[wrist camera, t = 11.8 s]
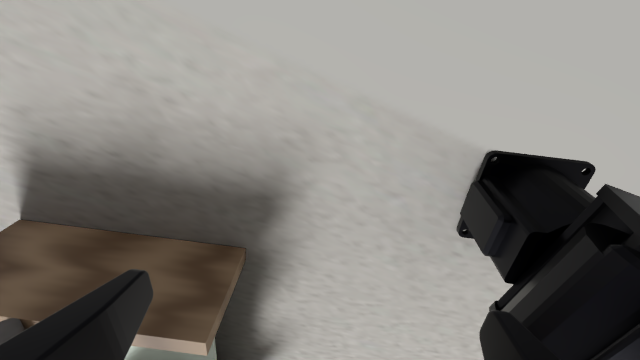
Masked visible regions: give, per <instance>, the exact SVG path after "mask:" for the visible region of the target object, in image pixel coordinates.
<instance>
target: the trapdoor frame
mask: <svg viewBox="0 0 640 360" xmlns="http://www.w3.org/2000/svg"><path fill="white" fill-rule="evenodd" d="M245 260H246V248H239V247H231V246H223V245H215V244H207V243H199V242H191V241H184V240H176V239H168V238H160V237H152V236H144V235H136V234H129V233H121V232H113V231H105V230H97V229H89V228H82V227H74V226H66V225H58V224H50V223H42V222H34V221H27V220H18V221H17V222H15V223H14V224H12V225H11V226H9V227H7V228H6V229H4V230H3V231H1V232H0V344H2V343H4V342H6V341H7V340H9V339H11V338H12V337H14V336H16V335H18V334H19V333H21V332H23V331H24V330H26V329H28V328H30V327H31V326H33V325H35V324H36V323H38V322H40V321H42V320H43V319H45V318H47V317H48V316H50V315H52V314H54V313H55V312H57V311H59V310H60V309H62V308H64V307H66V306H67V305H69V304H71V303H73V302H74V301H76V300H78V299H79V298H81V297H83V296H85V295H86V294H88V293H90V292H91V291H93V290H95V289H97V288H98V287H100V286H102V285H103V284H105V283H107V282H109V281H110V280H112V279H114V278H115V277H117V276H119V275H121V274H122V273H124V272H126V271H128V270H130V269H139V270H146V271H147V272H148V274H149V277H150V281H151V284H152V288H153V299H152V302H151V304H150V306H149V308H148V310H147V312H146V315H145V317H144V319H143V321H142V323H141V325H140V328H139V330H138V332H137V334H136V336H135V338H134V341H133V343H132V345H131V346H136V347H144V348H151V349H159V350H166V351H174V352H181V353H189V354H196V355H204V356H207V355H208V353H209V350H210V348H211V345H212V343H213V340H214V338H215V335H216V333H217V330H218V328H219V325H220V323H221V320H222V318H223V315H224V313H225V310H226V308H227V305H228V303H229V300H230V298H231V295H232V293H233V290H234V288H235V285H236V283H237V280H238V278H239V275H240V273H241V270H242V268H243V265H244V263H245Z"/></svg>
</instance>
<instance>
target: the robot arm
mask: <svg viewBox="0 0 640 360" xmlns="http://www.w3.org/2000/svg"><path fill="white" fill-rule="evenodd" d="M494 157H497V159H496V160H495V161H493V162H491V160H492V158H494ZM585 168H586V170H585V171H583V172H582V170H583V169H585ZM594 172H595V167H594V166H593V165H592V164H590V163H589V162H585V161H578V160H569V159H561V158H553V157H545V156H536V155H527V154H520V153H511V152H503V151H491V152H489V153H487V154H486V156H485V158H484V160H483V163H482V165H481V168H480V170H479V173H478V175H477V178H476V180H475V181H474V182H473V183H472V184H471V187H470V189H469V192H468V194H467V197H466V199H465V202H464V204H463V207H462V210H461V212H460V214H461V218H460V221H459V223H458V226H457V232H458V234H459V235H460V236H461V237H465V238H472V239H475V241H476V243H477V244H478V246H479V248H480V250H481V251H482V253H483V254H484V255H485V256H490V257H491V259H492V261H493V262H494V264H495V266H496V268H497V269H498V271H499V273H500V274H501V276H502V278H503V279H504V281H505V282H506V283H510V284H514V285H513V286H512V287H511V288H510V289H509V290H508V291H507V292H506V293H505V294H504V295H503V296H502V297H501V298H500V300H499V301H495V302H494V303H493V304H492V305H491V306H490V307H489V311H490V312H489V313H488V315H487V317H486V319H485V321H484V323H483V325H482V327H481V329H480V342H481V347H482V352H483V356H484V360H640V197H639V196H636V195H634V194H631V193H628V192H626V191H623V190H621V189H618V188H615V187H612V186H610V185H607V184H605V185H604V186H603V187H602V188H601V189H600V190H599V191H598V192H597V193H596V194H597V195H598V196H597V197H596V198H595V197H593V196H592V195H590V194H589V193H588V192H587V191H585V190H584V189H585V187H586V186H587V184H588V183H589V181H590V179H591V177H592V176H593V174H594ZM464 229H467V230H466V231H463V230H464ZM152 299H153V288H152V284H151V281H150V277H149V274H148V272H147V271H146V270H139V269H130V270H128V271H126V272H124V273H122V274H121V275H119V276H117V277H115V278H114V279H112V280H110V281H109V282H107V283H105V284H103V285H102V286H100V287H98V288H97V289H95V290H93V291H91V292H90V293H88V294H86V295H85V296H83V297H81V298H79V299H78V300H76V301H74V302H73V303H71V304H69V305H67V306H66V307H64V308H62V309H60V310H59V311H57V312H55V313H54V314H52V315H50V316H48V317H47V318H45V319H43V320H42V321H40V322H38V323H36V324H35V325H33V326H31V327H30V328H28V329H26V330H24V331H23V332H21V333H19V334H18V335H16V336H14V337H12V338H11V339H9V340H7V341H6V342H4V343H2V344H0V360H124V359H125V357H126V355H127V353H128V351H129V349H130V347H131V345H132V343H133V341H134V338H135V336H136V334H137V332H138V330H139V328H140V325H141V323H142V321H143V319H144V317H145V315H146V312H147V310H148V308H149V306H150V304H151V302H152Z"/></svg>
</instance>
